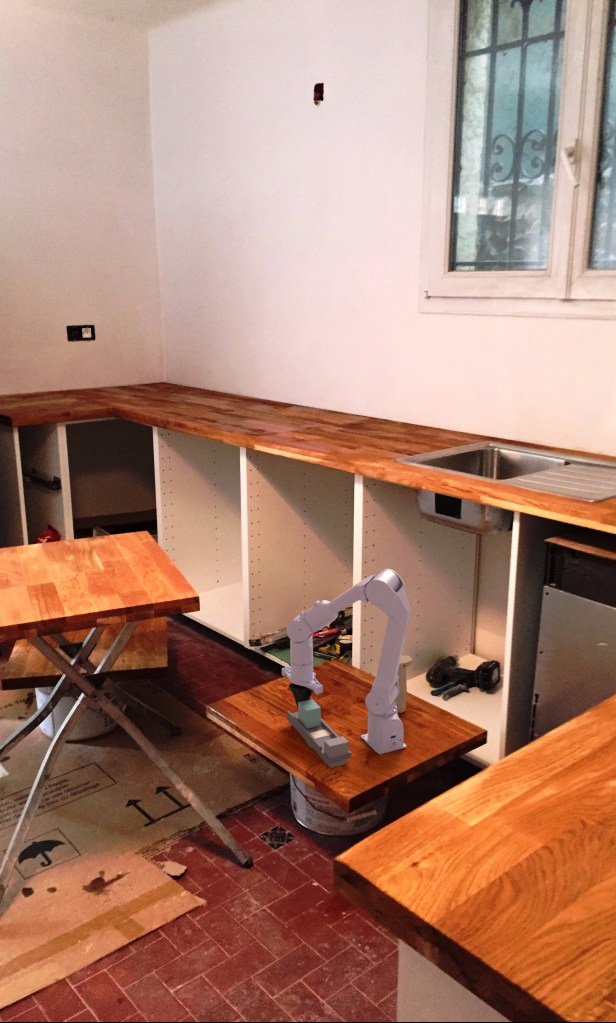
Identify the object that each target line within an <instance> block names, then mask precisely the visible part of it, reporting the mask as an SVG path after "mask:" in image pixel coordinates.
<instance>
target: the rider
mask: <svg viewBox="0 0 616 1023" xmlns="http://www.w3.org/2000/svg"><path fill="white" fill-rule="evenodd" d="M321 708H322V707H321V706H320V705H319V704H318V703H317V702H316V701H315V700H314V699H313V698H311V699H309V700H306V701H302V702H298V709H297V712H298V720H299V721H300V722H301V724H302V725H303V726H304V727H305V728H306V729H308V728H312V727H316V726H321V718H322V717H321V714H322V711H321V710H322V709H321Z"/></svg>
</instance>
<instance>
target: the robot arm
mask: <svg viewBox="0 0 616 1023" xmlns="http://www.w3.org/2000/svg"><path fill="white" fill-rule="evenodd" d="M358 601H359V602H362V603H365V604H367V603H371V604H372V605H373V606H375V607H376V608H378V609H379V610H381V611H382V612H384V613H385V615H387V617H388V618H387V623H386V629H385V632H384V638H383V642H382V647H381V653H380V658H379V662H378V667H377V672H376V675H375V678H374V681H373V683H372V686H371V689H370V692H368V694H367V695H366V696H365V700H364V702H365V704H364V705H365V707H366V709H367V733H366V734H365V733H364V734H362V735H360V737H361V739H362V740H364V742H365V743H366V744H367V745H368V746H370V747H371V749H373V751H374V752H375V753H377V754H378V755H381V754H382V755H383V754H385V753H386V754H387V753H390V752H394V751H399V750H401V749H405V748H407V744H406V743H404V732H405V731H404V730H405V729H404V728H405V727H404V723H403V721H402V720H401V718H400V717H399V713H397V705H396V702H395V698H397V696H398V695H399V685H398V678H399V676H398V675H397V673H398V668H399V664H400V659H401V655H403V650H404V645H405V642H406V641H405V640H406V635H407V632H408V631H407V630H408V628H409V622H410V617H411V612H412V608H411V605H410V602H409V599H408V595H407V592H406V590H405V581H404V580H403V578H402V577H401V576H400V575H399V574H398V573H397V572H396V571H395V570H393V569H390V568H384V569H381V570H380V571H378V572H377V574H376V573H374V574H371V575H369V576H367V577H365V578H363V579H362V580H360V581H359V582H357V583H356V584H354V585H353V586H351V587H350V588H349V589H347V590H346V591H344V592H343V593H341V594H340V595H338V596H337V597H335V598H333V599H332V600H331V601H329V600H327V599H323V600H321V601H320V600H319V599H318V600H316V601H315V602H314V603H313V604H312V607H310V608H308V609H307V610H302V611H300V613H299V614H298V615H297V616H295V617H294V618H293V619H292V620H291V621H290V622H289V623H288V624H287V626H286V636H287V637H288V638H289V639H290V641H289V645H290V646H289V648H290V650H289V653H290V667H289V666H286V667H282V668H281V676H283V677H287V678H288V680H289V681H290V682H291V683H289V684H288V688H289V690H290V692H291V693H292V696H293V698H294V701H295V705H296V708H297V710H298V702H302V701H306V700H311V699H310V698H311V696H312V694H313V692H314V694H315V695H319V694H323V692H324V685H323V684H321V683H320V682H319V681H318V680H317V678H316V676H317V675H316V672H314V651H313V650H314V646H313V645H314V644H313V643H314V641H313V634H314V633H316V632H318V631H320V630H322V629H323V628H325V627H326V626H328V625H329V624H331V623H333V622H334V621H336V619H337V616H338V613H339V612H341V611H342V610H345V609H346V608H348V607H350V606H351V605H354V604H355V603H357V602H358Z"/></svg>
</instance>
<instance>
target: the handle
mask: <svg viewBox="0 0 616 1023" xmlns="http://www.w3.org/2000/svg"><path fill="white" fill-rule="evenodd" d="M412 664H413V658H412V657H411V656H410V655H408V654H407V655H404V654H402V655H401V659H400V664H399V668H398V673H397V675H398V676H399V678H398V685H399V695H398V696H397V698H395V702H396V705H397V714H399V713H400V714H402V713H404V712H405V711H406V705H407V699H408V698H407V696H408V689H407V688H408V687H407V686H408V685H407V668H408V667H410V666H412Z"/></svg>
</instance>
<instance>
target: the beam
mask: <svg viewBox="0 0 616 1023" xmlns="http://www.w3.org/2000/svg"><path fill="white" fill-rule="evenodd" d="M286 720H287V721H288V722H289V723H290V725H291V726H292V727H293V728H294V729H295V731H297V732H298V734H299V735H300V736H301V737H302V738H303V739H304V740H305V743H306V744H307V745H308V747H309V749H313V750H314V752H316V753H317V755H318V756H319V757H320V758H321V759H322V761H324V763H325V764H326V765H327V766H329V767H330V769H332V768H336V767H339V766H343V765H346V764H347V760H349V759H352V751H351V750H350V749H349V747H350V744H349V742H350V741H348V739H347V738H345V737H344V736H343V735H342V736H340V735H338V733H337V732H336V731H335V730H334V729H332V727H331V726H330V724H329V725H328V723H327V722H326V721H325V720H324V719H323V718H322V717H321V726H316V727H312V728H308V729H306V728H305V727H304V726H303V725H302V724H301V722H300V721H299V720H298V711H295V712H291V711H290V710H286Z"/></svg>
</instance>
